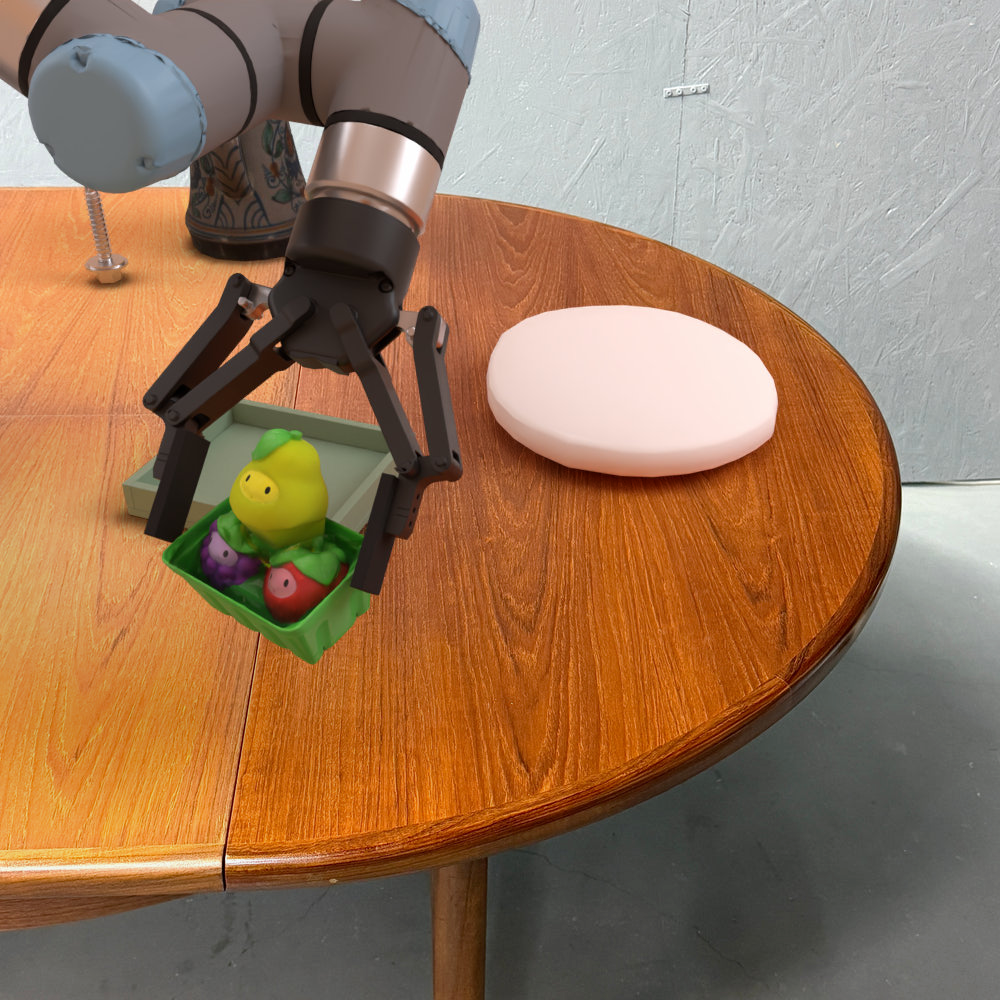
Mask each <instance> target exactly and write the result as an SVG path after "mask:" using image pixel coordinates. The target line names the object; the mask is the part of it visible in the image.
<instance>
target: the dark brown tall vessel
mask: <svg viewBox="0 0 1000 1000" xmlns="http://www.w3.org/2000/svg"><path fill="white" fill-rule="evenodd" d="M306 184H307V181H306V178H305V175H304V173H303V169H302V166H301V163H300V158H299V155H298V151H297V147H296V143H295V140H294V135H293V132H292V129H291V125H290V121H284V120H278V119H268V120H266V121H264V122H263V123H261V124H259V125H257V126H256V127H254V128H252V129H250V130H249V131H247V132H245V133H243V134H242V135H240V136H238V137H236V138H234V139H232V140H231V141H228V142H226V143H224V144H221V145H220V146H218V147H216V148H215V149H213V150H212V151H210V152H208V153H207V154H205V155H203V156H202V157H200V158H199V159H197V160H195V161H194V162H193V163H192V164H191V165H190V166H189V196H188V205H187V208H186V211H185V215H184V224H185V226H186V228H187V230H188V233H189V235H190V238H191V241H192V246H193V247H194V248H195V249H196V250H197V251H198V252H199V253H200V254H202V255H204V256H205V255H206V256H209V257H211V258H213V259H216V260H228V261H229V260H230V261H238V262H239V261H240V262H248V261H264V260H270V259H277V258H280V257H281V258H282V257H285V253H286V249H287V246H288V243H289V239H290V236H291V233H292V230H293V227H294V223H295V220H296V217H297V214H298V211H299V207H300V206H301V205H302V204H303V203H305V202H307V200H306V198H305V194H304V190H305V187H306Z"/></svg>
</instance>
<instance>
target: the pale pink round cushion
mask: <svg viewBox="0 0 1000 1000" xmlns="http://www.w3.org/2000/svg"><path fill="white" fill-rule="evenodd" d="M485 378H486V392H487V393H486V394H487V403H488V405H489V409H490V411H491V413H492V414H493V416H494V418H495V421H496V422H497V423H498V424H499V425H500V426H501V427H502V428H503V430H504V431H506V432H507V433H508V434H509V435H510V436H511V438H512V439H514V440H515V441H516V442H518V443H519V444H521V445H523V446H524V447H525V448H528V449H529V450H531V451H532V452H534V453H535V454H537V455H539V456H541V457H543V458H546V459H549V460H551V461H553V462H556V463H557V464H559V465H562V466H564V467H567V468H570V469H576V470H577V469H578V470H583V471H587V472H588V471H589V472H595V473H602V474H606V475H614V476H619V477H643V478H656V477H657V478H660V477H670V476H680V475H689V474H694V473H698V472H703V471H708V470H712V469H716V468H719V467H721V466H724V465H727V464H729V463H733V462H734V461H737V460H739V459H741V458H743V457H744V456H746V455H748V454H750V453H752V452H754V451H756V450H757V449H759V448H760V447H762V445H764V444H765V443H766V442H767V441H769V440H770V439H771V438H772V436H773V435H774V432H775V426H776V421H777V412H778V406H779V399H778V398H779V397H778V392H777V387H776V384H775V380H774V378H773V376H772V375H771V373H770V372H769V370H768V369H767V367H766V366H765V364H764V363H763V361H762V359H761V358H760V356H759V355H757V353H756V352H754V351H753V350H752V349H751V348H750V347H749V346H748V345H746V343H744V342H743V341H740V340H739V339H737V338H736V337H734V336H733V335H731V334H730V333H728V332H726V331H724V330H723V329H722V328H719V327H716V326H715V325H712V324H710V323H707V322H705V321H704V320H702V319H698V318H696V317H692V316H690V315H686V314H683V313H681V312H677V311H671V310H668V309H660V308H656V307H649V306H638V305H627V304H626V305H625V304H622V305H586V306H576V307H568V308H567V307H566V308H561V309H554V310H549V311H544V312H540V313H538V314H535V315H532V316H529V317H527V318H524V319H523V320H521V321H519V322H518V323H517V324H515V325H513V326H512V327H510V328H509V329H507V330H506V331H504V332H502V333H501V334H500V336H499V339H497V342H496V344H495V346H494V348H493V350H492V352H491V354H490V357H489V361H488V366H487V370H486V377H485Z"/></svg>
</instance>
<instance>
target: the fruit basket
mask: <svg viewBox="0 0 1000 1000" xmlns="http://www.w3.org/2000/svg"><path fill="white" fill-rule="evenodd" d="M301 438H302V433H301V432H300V431H297V430H293V431H290V432H289V431H287V430H284V429H272V430H269V431H267V432H266V433H264V434H263V436H262V437H261V439H260V441H259V442H258V444H257V446H256V448H255V450H254V451H253V452H252V461H251V462H250V463H249V464H248V465H246V466H245V467H244V468H243V470H242V471H241V472H240V473H239V475H238V476H237V478H236V480H235V482H234V484H233V486H232V489H231V492H230V496H229V497H228V498H226V499H225V500H224V501H222V502H221V503H219V504H218V505H217V506H216V507H215V508H213V509H212V510H210V512H208V513H207V514H206V515H205V516H203V517H202V518H201V519H200V520H199V521H198V522H196V523H195V524H194V525H193V526H191V527H190V528H189V529H187V530H185V531H183V533H182V535H180V536H179V537H178V538H176V540H175V541H174V542H173V543H170V544H169V545H168V546H166V548H165V549H164V550H163V551H162V554H161V561H162V563H163V564H164V565H165V566H166V567H168V568H169V569H170V570H171V571H172V572H173V573H175V574H176V575H177V576H179V577H181V578H182V579H183V580H184V581H185V582H186V583H187V584H188V585H189V586H190V587H191V588H192V589H193V590H195V592H196V593H197V594H198V595H200V597H201V598H202V599H203V600H204V601H205V602H206V603H208V605H210V607H211V608H213V609H215V610H216V611H218V612H220V613H221V614H223V615H225V616H228V617H232V618H233V619H234V620H235V621H236V622H237V623H238V624H240V625H242V626H244V627H245V628H247V629H249V630H250V631H252V632H256V633H260V634H261V635H262V636H263V638H265V639H266V640H268V641H269V642H272V644H275V645H276V646H277V647H280V648H281V649H285V650H288V651H290V652H291V653H292V654H293V655H294V656H296V657H297V658H298V659H301V660H302V661H304V662H305V663H307V664H308V665H313V666H314V665H316V664H317V663H318V662H319V661H320V660H321V658H322V656H323V655H324V652H325V651H327V650H329V649H331V648H333V646H335V645H336V644H337V643H338V641H340V639H342V637H344V635H345V634H347V632H348V631H349V630H350V629H351V628H352V627H353V626H354V625H355V623H356V621H357V618H359V617H361V616H363V615H364V614H366V613H367V612H368V611H369V609H370V607H371V594H370V593H366V592H363V591H361V590H358V589H355V588H352V587H350V584H351V580H352V577H353V573H354V570H355V566H356V563H357V559H358V555H359V552H360V548H361V545H362V541H363V538H364V534H362V533H360V532H359V533H358V532H355V531H353V530H351V529H349V528H347V527H345V526H343V525H341V524H339V523H337V522H335V521H333V520H331V519H329V518H327V517H326V514H327V510H328V501H329V499H328V491H327V487H326V484H325V482H324V479H323V477H322V474H321V469H320V458H319V455H318V453H317V451H316V449H315V448H314V447H313V446H312V445H311V444H310V443H308V442H306V441H305V440H303V439H301Z"/></svg>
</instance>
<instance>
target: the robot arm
mask: <svg viewBox="0 0 1000 1000" xmlns="http://www.w3.org/2000/svg"><path fill="white" fill-rule="evenodd" d="M480 34H481V13H480V12H479V9H478V6H477V5H476V3H475V1H474V0H157V1H156V2H155V4H154V7H153V9H152V12H149V11H147V10H146V9H145V8H143V7H142V6H141V5H139V4H137V3H136V2H135V1H133V0H0V80H2V82H4V83H6V85H8V86H10V87H11V88H12V89H14V90H15V91H17V92H18V93H19V94H21V95H22V96H23V97H25V98H26V99H27V108H28V114H29V119H30V122H31V126H32V130H33V132H34V134H35V137H36V138H37V141H38V142H39V144H41V145H43V146H44V147H45V149H46V150H47V152H48V154H49V155H50V156H51V158H52V160H53V164H54V165H55V166H56V167H57V168H58V169H59V170H60V171H61V172H62V173H63V174H64V175H66V176H67V177H68V178H70V179H71V180H72V181H74V182H75V183H77V184H78V185H81V186H83V187H84V186H85V187H87V188H90V189H93V190H96V191H98V192H100V193H105V194H111V195H112V194H113V195H115V194H117V195H118V194H119V195H120V194H128V193H132V192H136V191H139V190H141V189H144V188H146V187H149V186H152V185H154V184H157V183H159V182H161V181H166V180H169V179H172V178H174V177H177V176H178V175H179V174H181V173H183V172H185V171H186V170H188V169H189V168H190V165H191V164H192V163H193V162H194V161H195V160H197V159H199V158H200V157H202V156H203V155H205V154H207V153H208V152H210V151H212V150H213V149H215V148H216V147H218V146H220V145H221V144H224V143H226V142H228V141H231V140H232V139H234V138H236V137H238V136H240V135H242V134H243V133H245V132H247V131H249V130H250V129H252V128H254V127H256V126H257V125H259V124H261V123H263V122H264V121H266V120H268V119H278V120H284V121H289V123H295V124H303V125H308V126H314V127H319V128H320V127H321V128H323V130H322V134H321V137H320V139H319V143H318V146H317V150H316V153H315V155H314V158H313V162H312V164H311V168H310V171H309V174H308V177H307V181H306V183H307V184H306V187H305V190H304V194H305V198H306V200H307V202H305V203H303V204H302V205H301V206H300V207H299V211H298V214H297V217H296V220H295V223H294V227H293V230H292V233H291V236H290V239H289V243H288V246H287V249H286V253H285V256H284V265H283V270H282V271H283V272H282V274H281V276H280V278H279V280H278V281H277V282H276V283H275V284H274V286H272V287H270V286H267V285H263V284H259V283H256V282H252V281H251V280H250V279H249V278H248V277H247V276H246V275H244V274H243V273H241V272H234V273H232V274H231V275H230V276H229V278H228V279H227V281H226V283H225V286H224V288H223V291H222V294H221V296H220V298H219V300H218V303H217V305H216V306H215V308H214V309H213V310H212V312H210V314H209V315H208V316H207V317H206V318H205V320H204V321H203V322H202V323H201V325H200V326H199V327H198V328H197V330H196V331H195V332H194V333H193V335H192V336H191V337H190V338H189V340H188V341H187V342H186V343H185V344H184V346H183V347H182V348H181V349H180V351H179V352H178V353H177V354H176V355H175V356H174V357H173V359H172V360H171V361H170V362H169V364H168V365H167V367H166V368H164V370H163V371H162V372H161V374H160V375H159V376H158V377H157V379H155V381H154V382H153V383H152V385H150V387H149V389H148V390H147V391H146V392H145V393H144V394H143V396H142V400H141V402H142V405H143V407H144V408H145V409H147V410H149V411H150V412H151V413H153V414H155V415H156V416H157V417H159V418H160V419H161V420H162V421H163V423H164V432H163V436H162V438H161V441H160V445H159V447H158V451H157V453H156V455H157V457H156V460H155V463H154V466H153V478H155V479H158V480H160V483H159V486H158V490H157V493H156V496H155V499H154V502H153V505H152V508H151V512H150V515H149V518H148V519H147V521H146V525H145V527H144V531H143V535H146V536H148V537H151V538H155V539H158V540H160V541H164V542H167V543H170V544H172V543H173V542H174V541H175V540H176V538H178V537H179V536H180V535H182V534H183V533H184V530H185V528H184V526H185V523H186V520H187V517H188V514H189V510H190V507H191V504H192V501H193V497H194V494H195V491H196V488H197V485H198V481H199V478H200V475H201V472H202V469H203V465H204V462H205V459H206V456H207V453H208V449H209V446H210V443H211V442H210V441H208V440H206V439H204V438H205V436H203V433H202V432H203V431H204V430H205V429H206V428H208V427H209V426H210V425H211V424H212V423H214V422H215V421H216V420H217V419H219V418H220V417H221V416H222V415H224V414H225V413H226V412H227V411H229V410H230V409H231V408H232V407H234V406H235V405H236V404H237V403H239V402H240V401H241V400H242V399H246V397H247V396H249V395H250V394H251V393H253V392H254V391H256V389H258V388H259V387H260V386H261V385H262V384H264V383H265V382H266V381H267V380H269V379H270V378H271V377H272V376H274V375H276V373H278V372H279V373H280V372H284V371H287V370H288V369H289V368H291V367H292V366H293V365H294V364H296V363H297V364H298V365H300V367H302V368H304V369H310V370H325V369H326V370H329V371H331V372H333V373H335V374H337V375H342V376H346V377H350V375H351V374H352V373H355V374H356V375H357V377H358V379H359V381H360V383H361V386H362V389H363V391H364V393H365V395H366V398H367V400H368V403H369V405H370V407H371V410H372V412H373V414H374V417H375V419H376V423H377V424H378V426H380V429H381V431H382V434H383V436H384V438H385V441H386V443H387V445H388V448H389V450H390V453H391V455H392V457H393V460H394V462H395V465H396V467H397V468H396V467H395V468H394V469H395V470H396V471H397V472H398V473H399V475H398V477H396V476H395V475H391V474H386V473H382V475H381V478H380V482H379V485H378V489H377V492H376V496H375V499H374V503H373V506H372V510H371V513H370V517H369V520H368V522H367V523H366V528H365V532H364V534H363V535H364V538H363V541H362V545H361V548H360V552H359V555H358V559H357V563H356V566H355V570H354V573H353V577H352V580H351V584H350V587H352V588H355V589H358V590H361V591H363V592H366V593H370V595H374V596H378V597H380V595H381V592H382V588H383V584H384V581H385V578H386V577H385V576H386V573H387V570H388V565H389V562H390V559H391V555H392V551H393V548H394V544H395V541H396V539H399V540H400V539H401V540H403V541H408V540H409V538H410V537H411V536H412V534H413V533H414V530H415V525H416V522H417V519H418V515H419V511H420V508H421V505H422V500H423V497H424V494H425V491H426V490H427V488H428V487H429V486H430V485H432V484H434V483H435V484H436V483H440V482H450V483H456V482H458V481H459V480H460V479H461V478H462V477H463V475H464V467H463V461H462V460H463V459H462V455H461V449H460V442H459V437H458V431H457V424H456V419H455V413H454V407H453V406H454V405H453V401H452V396H451V389H450V383H449V377H448V372H447V366H446V360H445V357H446V352H447V346H448V341H449V336H450V325H449V324H448V323H447V321H446V320H445V318H444V317H443V316H442V315H441V313H440V312H439V310H438V309H437V308H436V307H434V306H433V305H425V306H423V307H421V308H420V309H419V310H418V311H414V310H413V311H412V310H404V300H405V298H406V296H407V295H408V292H409V289H410V285H411V282H412V279H413V274H414V272H415V268H416V264H417V261H418V258H419V254H420V250H421V245H420V241H419V238H420V237H422V236H423V234H424V233H425V232H426V229H427V225H428V222H429V218H430V215H431V211H432V207H433V203H434V200H435V197H436V194H437V190H438V185H439V182H440V178H441V175H442V173H443V169H444V164H445V160H446V157H447V154H448V151H449V148H450V145H451V141H452V138H453V135H454V132H455V129H456V125H457V122H458V118H459V115H460V112H461V110H462V106H463V102H464V99H465V97H466V93H467V91H468V89H469V88H470V87H469V86H471V81H472V79H473V78H472V74H471V72H472V68H473V65H474V60H475V55H476V50H477V47H478V42H479V37H480ZM267 310H269V313H270V316H271V319H270V320H268V322H266V323H265V324H264V325H263V326H262V327H260V328H259V329H258V330H256V332H254V333H253V334H252V335H251V336H250V338H249V341H248V342H249V343H248V344H247V345H246V346H244V347H243V348H242V349H240V350H239V351H238V352H237V353H236V354H234V355H233V356H232V357H231V358H229V356H230V355H231V354H232V352H233V351H234V350H235V349H236V348H237V346H238V345H239V344H240V343H241V341H242V340H243V339H244V338H245V337H246V335H247V334H248V332H249V331H250V329H251V328H252V326H253V324H254V322H255V321H257V320H258V321H261V320H262V319H263V318H264V312H265V311H267ZM402 333H404V335H405V336H404V337H405V341H406V343H407V344H408V345H409V346H410V347H411V348H412V355H413V362H414V368H415V375H416V382H417V387H418V394H419V400H420V407H421V412H422V419H423V424H424V432H425V438H426V444H427V449H428V455H424V454H423V451H422V449H421V447H420V444H419V442H418V440H417V438H416V434H415V435H414V433H415V432H414V430H413V428H412V425H411V422H410V421H409V418H408V416H407V413H406V412H405V409H404V407H403V404H402V402H401V399H400V398H399V395H398V393H397V391H396V388H395V386H394V384H393V378H392V376H391V372H390V370H389V368H388V366H387V364H386V362H385V359H384V356H383V354H382V351H384V350H385V349H386V348H387V347H388V346H389V345H390V344H392V343H393V342H394V341H395V340H396V339H397V338H399V337H400V336H401V334H402ZM279 343H280V346H276V345H278V344H279ZM228 358H229V359H228ZM227 359H228V360H227ZM226 360H227V361H226ZM224 362H225V363H224ZM413 432H414V433H413Z"/></svg>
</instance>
